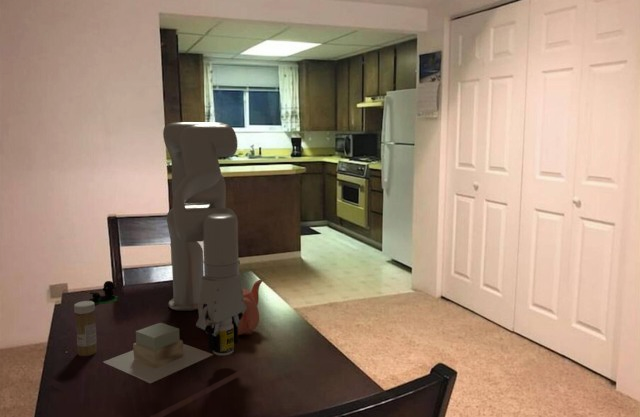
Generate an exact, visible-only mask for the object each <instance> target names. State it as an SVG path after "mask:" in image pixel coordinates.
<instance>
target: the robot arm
mask: <svg viewBox="0 0 640 417" xmlns="http://www.w3.org/2000/svg"><path fill="white" fill-rule="evenodd" d="M236 134H237V133H236V131H235V130H234V128H233V127H232V126H231V125H229V124H226V123H223V122H213V121H212V122H209V121H207V122H205V121H204V122H199V121H195V122H194V121H188V122H187V121H182V122H181V121H180V122H179V121H178V122H171V123H170V122H169V123H168V124H166V125H165V126H164V128H163V131H162V135H163V142H164V144H165V147H166V149H167V151H168V154H169V156H170V160H171V194H172V205H171V206H172V208H170V210H169V211H168V212H167V213H166V214H167V215H166V222H167V223H166V224H167V229H168V233H169V239H170V249H171V250H170V251H171V268H172V269H171V270H172V272H171V273H172V290H173V291H172V292H173V293H172V294H173V296H172V297H173V298H172V299H171V300H169V302H168V307H169V308H170V309H171V310H174V311H180V312H181V311H182V312H183V311H184V312H185V311H195V310H197V311H198V308H197V305H198V303H199V311H198V319H197V321H196V323H195V326H196V327H197V328H199V329H201V330H203V331H204V332H205V333H206V334H207V340H208V345H207V346H208V349H209V351H212V352H213V351H215V352H220V335H218V329H219V323H220V322H221V321H223V320H225V319H228V318H230V317H232V324H233V326H234V345H236V344H238V343H239V335H238V327H237V326H239V325H240V320H241V318H242V316H243V313H244V312H245V310H246V309H247V306H246V304H245V303H244V302H243V282H242V277H241V273H240V272H239V271H240V270H239V266H240V263H241V261H240V260H239V234H238V233H239V231H238V229H239V227H238V226H239V222H238V221H239V220H238V216H237V214H236V213H235V212H234V210H233V209H231V208H230V207H229V208H228V207H226V203H227V202H226V198H227V196H226V195H227V186H226V181H225V178H224V175H222V171H221V166H220V162H219V158H220V157H221V158H224V157H225V158H226V157H233V156H234V155H235V154H236V153H237V151H238V137H237V135H236ZM199 242H203V243H202V244H203V245H201V244H200V243H199ZM202 246H203V247H202ZM207 318H208V319H207ZM206 320H207V324H206ZM212 324H214V326H213V328H212Z"/></svg>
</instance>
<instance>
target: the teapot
mask: <svg viewBox="0 0 640 417" xmlns="http://www.w3.org/2000/svg"><path fill="white" fill-rule="evenodd" d="M263 282H264V279H263V278H262V279H258V280H256V281H255V282H254V283H253V286H252V288H251V291H250V290H248V289H247V288H243V287H242V288H243V302H244V303H245V304H246V306H247V309H246V310H245V312H244V313H243V316H242V318H241V320H240V325H239V326H237V327H238V336H240V335H247V336H248V335H252V334H253V333H254V332H253V330H255V329H256V328H257V326H258V325H259V323H260V313H259V309H258V305H259V300H260V299H259V297H260V296H259V290H260V286H261V284H262V283H263ZM197 308H198V309H197V311H198V312H199V303H198V305H197ZM207 319H208V318H207ZM206 324H207V320H206ZM213 325H214V324H212V328H213Z"/></svg>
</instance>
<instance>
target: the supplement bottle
mask: <svg viewBox="0 0 640 417" xmlns="http://www.w3.org/2000/svg"><path fill="white" fill-rule="evenodd" d="M213 326H214V325H213ZM218 335H220V352H215V351H212V352H213V354H215V355H216V356H228V355H231V354H232V353H233V352H234V349H235V344H234V326H233V324H232V317H230V318H228V319H225V320H223V321H221V322H220V323H219V329H218Z"/></svg>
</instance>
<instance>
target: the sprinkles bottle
mask: <svg viewBox="0 0 640 417" xmlns="http://www.w3.org/2000/svg"><path fill="white" fill-rule="evenodd" d="M95 305H96V304H95V303H94V302H93V301H89V300H83V301H79V302H76V303H75V304H74V305H73V310H74V314H75V330H76V333H75V334H76V345H77V355H78V356H80V357H88V356H89V357H90V356H92V355H95V354H96V353H97V352H98V350H97V348H98V347H97V341H98V340H97V328H96V327H97V326H96V317H95V316H96V314H95V310H96V306H95Z"/></svg>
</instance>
